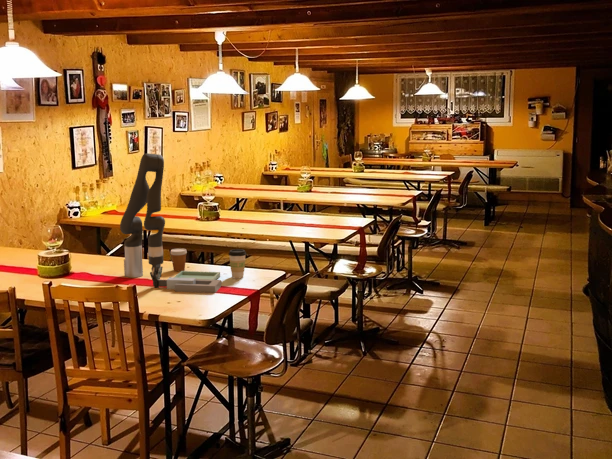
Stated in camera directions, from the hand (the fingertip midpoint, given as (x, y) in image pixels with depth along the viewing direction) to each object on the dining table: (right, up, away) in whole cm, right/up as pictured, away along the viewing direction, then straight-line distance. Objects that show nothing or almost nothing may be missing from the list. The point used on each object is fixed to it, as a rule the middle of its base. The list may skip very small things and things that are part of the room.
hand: (157, 286), depth 326 cm
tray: (+18, +3, +16) cm, 24 cm away
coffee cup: (+40, +3, +21) cm, 45 cm away
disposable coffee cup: (+4, +6, +36) cm, 37 cm away
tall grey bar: (+9, -1, -1) cm, 9 cm away
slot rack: (+22, -1, -3) cm, 22 cm away
